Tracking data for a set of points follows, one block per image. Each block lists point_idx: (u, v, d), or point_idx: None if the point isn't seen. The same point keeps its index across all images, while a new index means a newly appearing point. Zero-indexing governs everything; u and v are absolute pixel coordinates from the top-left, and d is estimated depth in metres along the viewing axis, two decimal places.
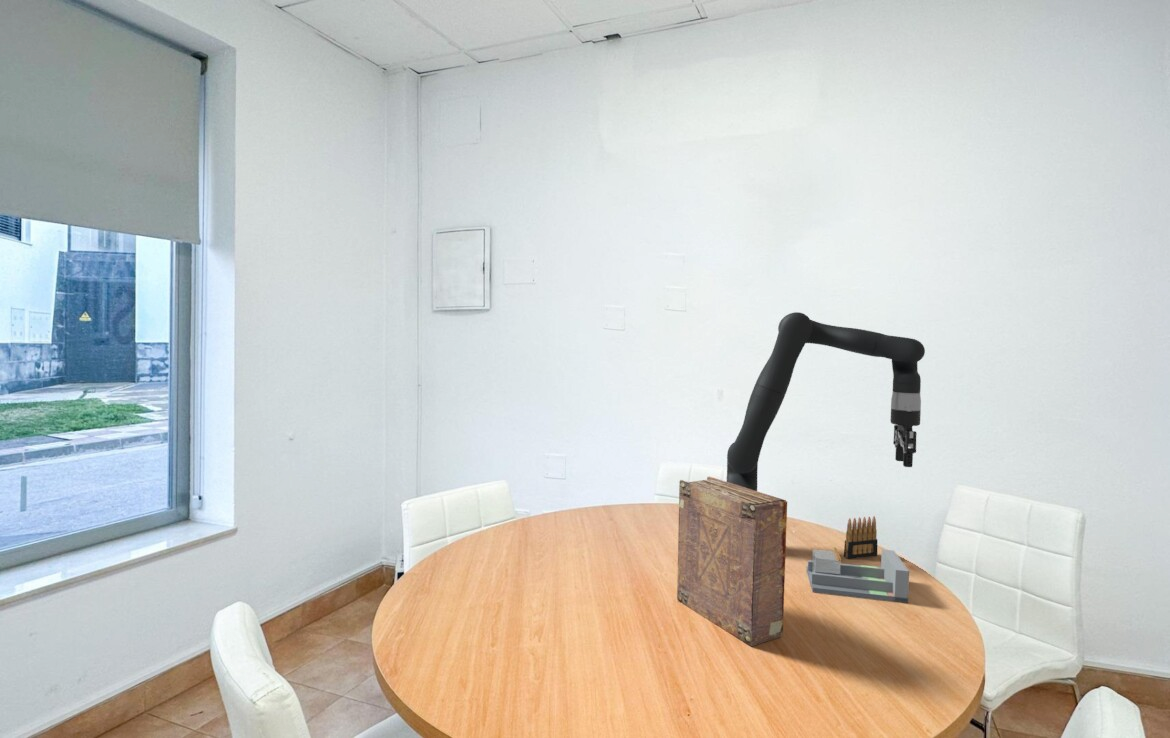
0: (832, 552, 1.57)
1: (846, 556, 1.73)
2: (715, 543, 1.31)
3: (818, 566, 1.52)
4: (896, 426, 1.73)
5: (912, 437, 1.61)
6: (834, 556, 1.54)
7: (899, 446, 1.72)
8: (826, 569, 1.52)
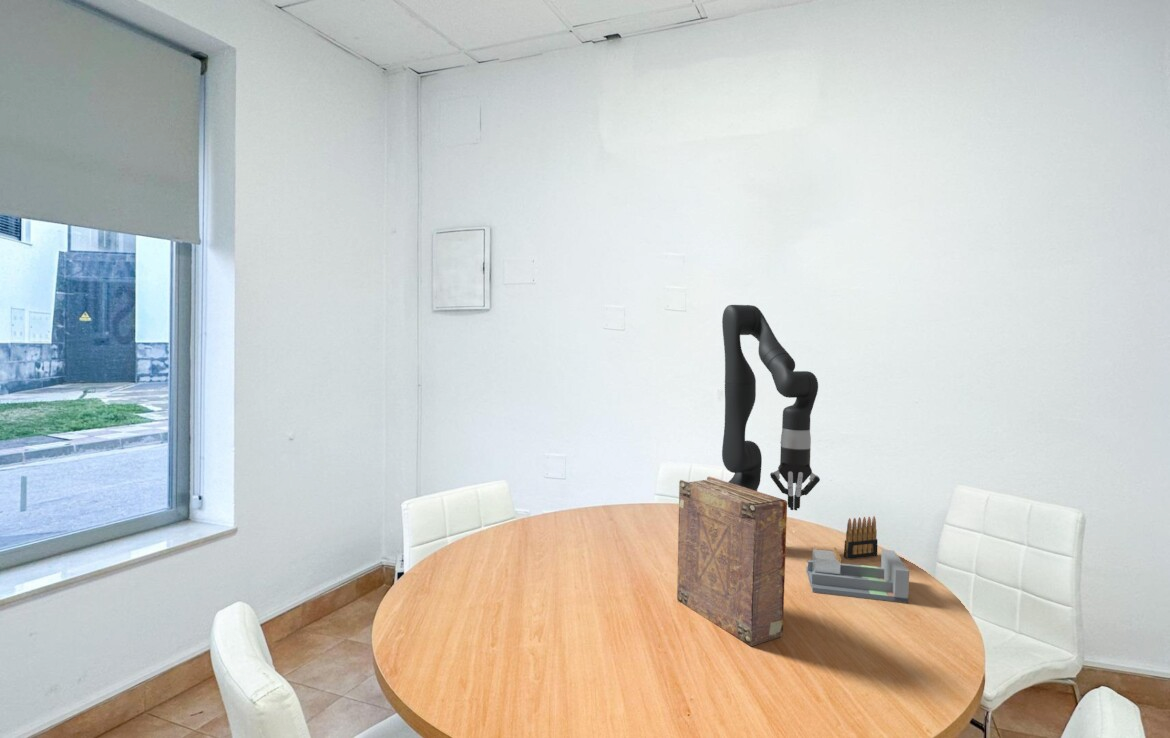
0: (832, 552, 1.57)
1: (846, 556, 1.73)
2: (715, 543, 1.31)
3: (818, 566, 1.52)
4: (773, 474, 1.57)
5: None
6: (834, 556, 1.54)
7: (792, 493, 1.56)
8: (826, 569, 1.52)
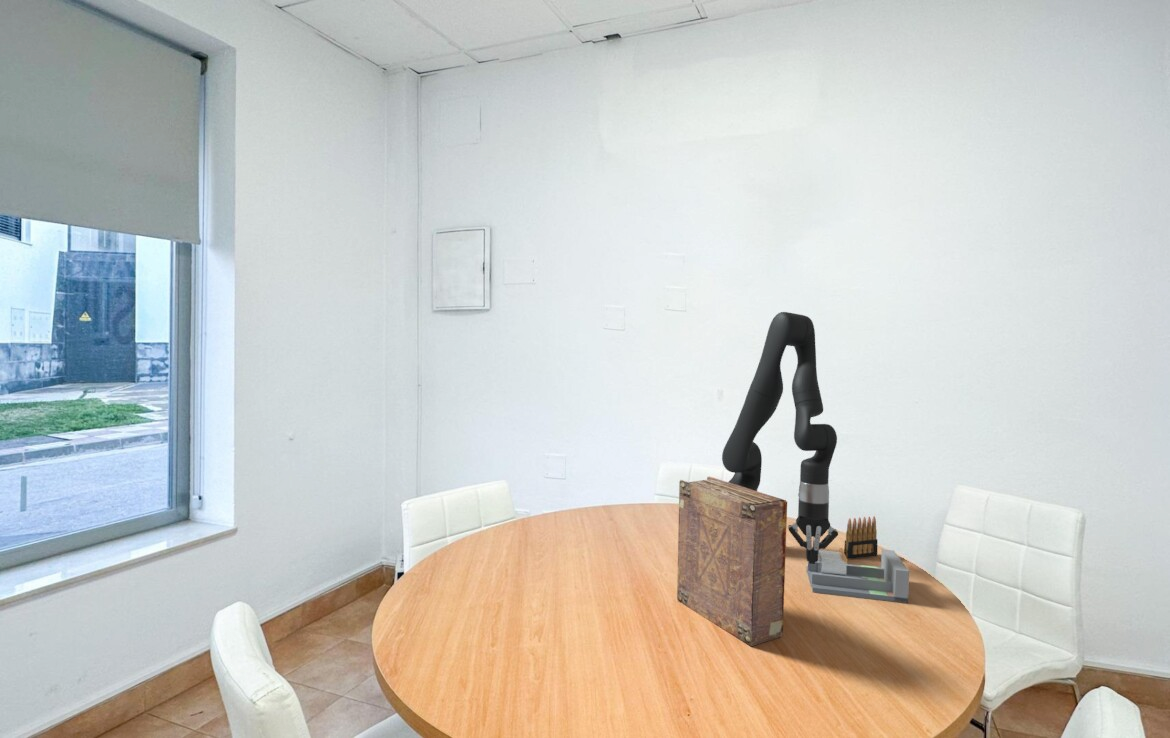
0: (838, 553, 1.56)
1: (846, 556, 1.73)
2: (715, 543, 1.31)
3: (824, 567, 1.52)
4: (791, 527, 1.56)
5: None
6: (840, 557, 1.53)
7: None
8: (832, 569, 1.51)
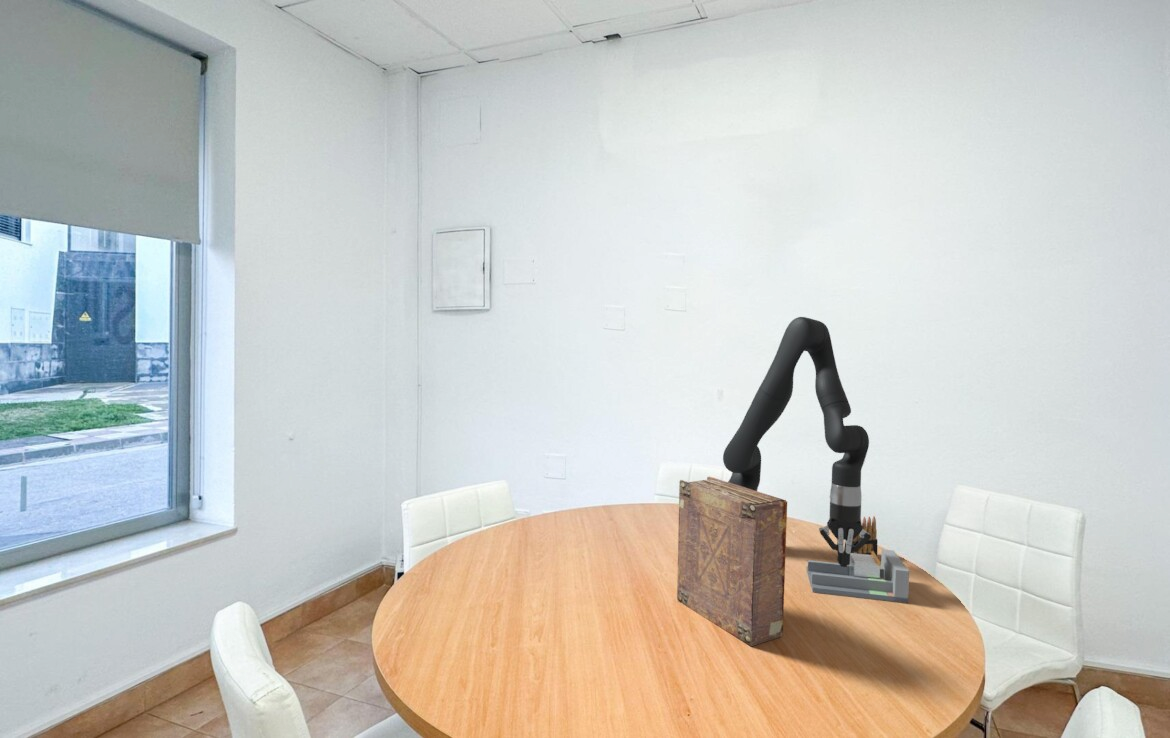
0: (870, 556, 1.54)
1: None
2: (715, 543, 1.31)
3: (856, 570, 1.50)
4: (823, 530, 1.54)
5: None
6: (873, 560, 1.51)
7: None
8: (865, 573, 1.49)
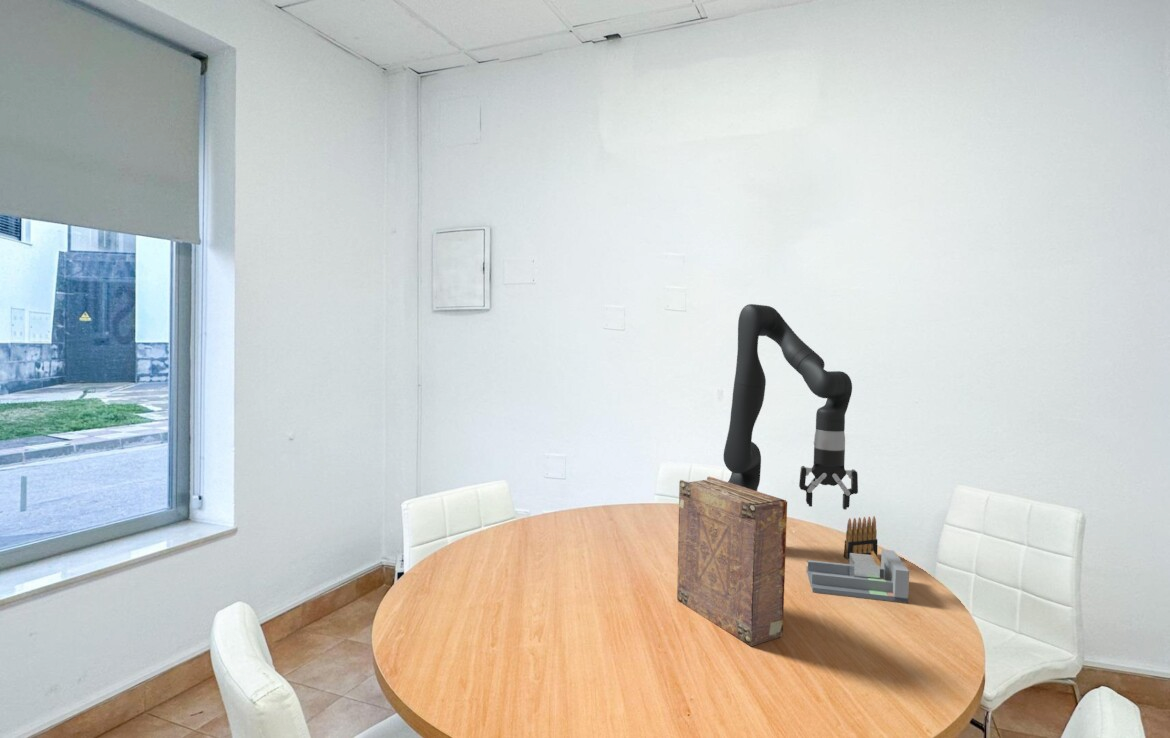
0: (870, 556, 1.54)
1: (846, 556, 1.73)
2: (715, 543, 1.31)
3: (856, 570, 1.50)
4: (805, 468, 1.55)
5: None
6: (873, 560, 1.51)
7: None
8: (865, 573, 1.49)
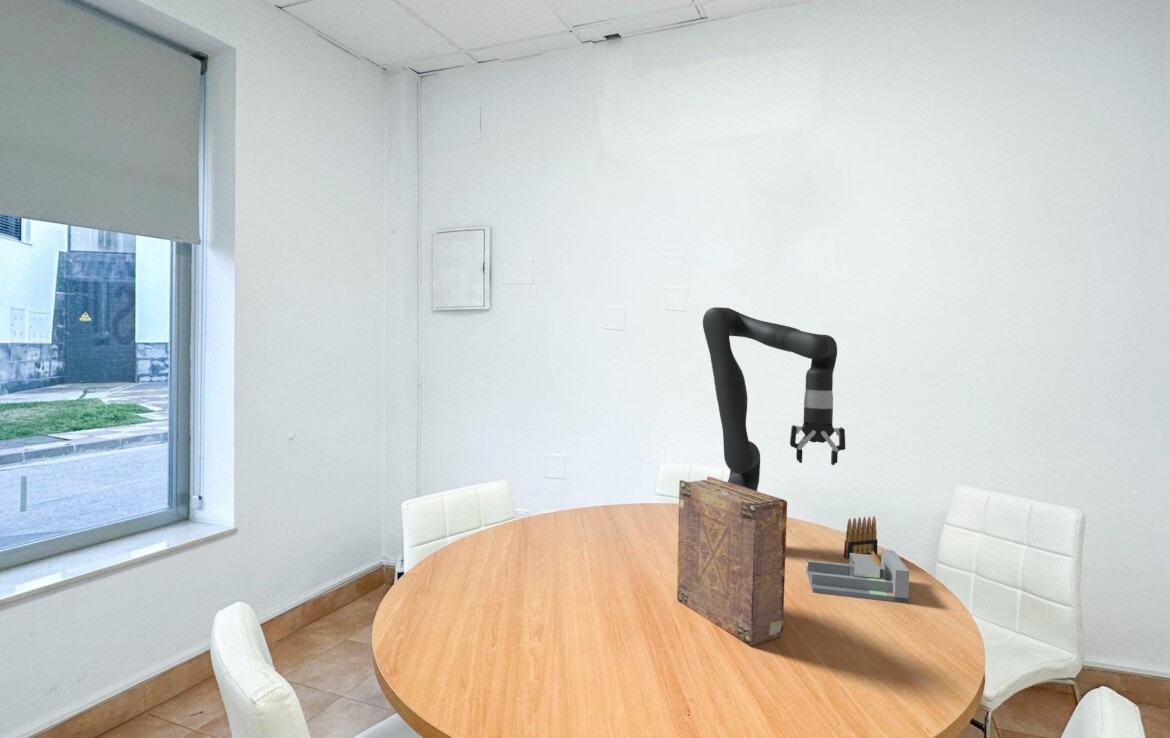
0: (870, 556, 1.54)
1: (846, 556, 1.73)
2: (715, 543, 1.31)
3: (856, 570, 1.50)
4: (796, 427, 1.63)
5: None
6: (873, 560, 1.51)
7: None
8: (865, 573, 1.49)
